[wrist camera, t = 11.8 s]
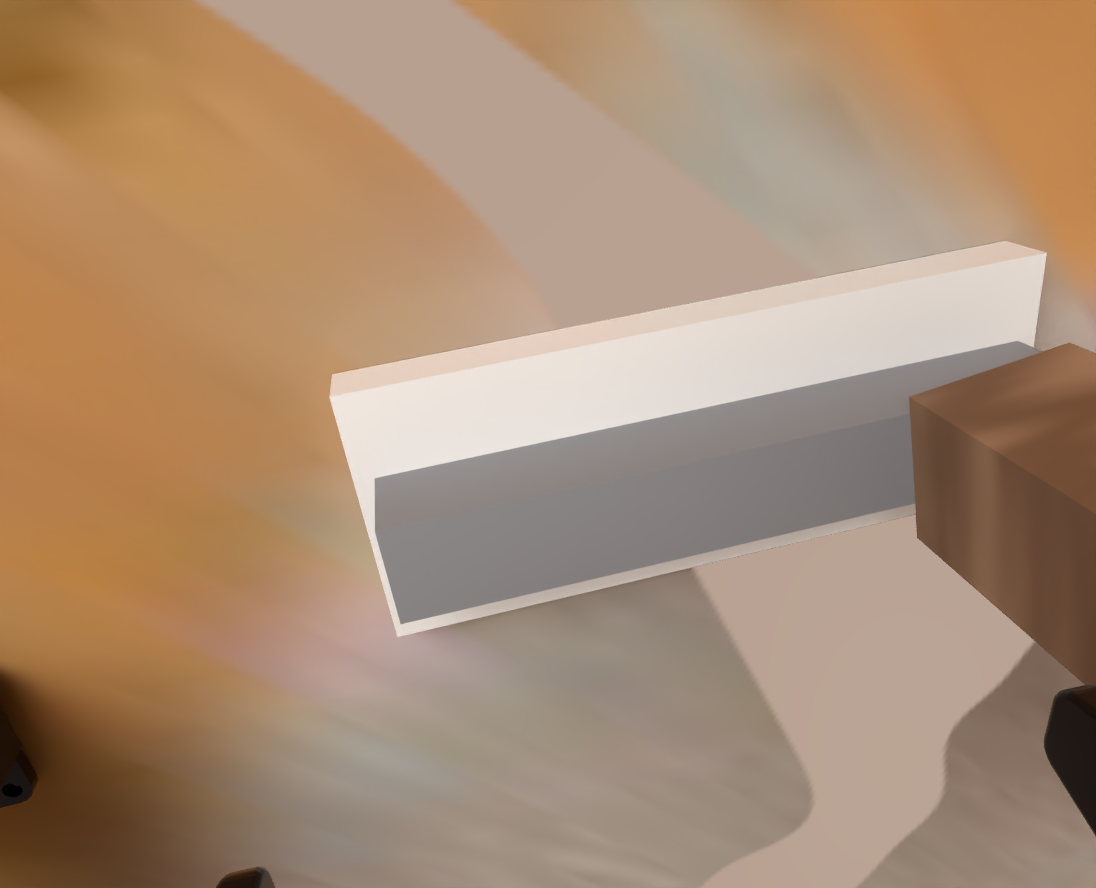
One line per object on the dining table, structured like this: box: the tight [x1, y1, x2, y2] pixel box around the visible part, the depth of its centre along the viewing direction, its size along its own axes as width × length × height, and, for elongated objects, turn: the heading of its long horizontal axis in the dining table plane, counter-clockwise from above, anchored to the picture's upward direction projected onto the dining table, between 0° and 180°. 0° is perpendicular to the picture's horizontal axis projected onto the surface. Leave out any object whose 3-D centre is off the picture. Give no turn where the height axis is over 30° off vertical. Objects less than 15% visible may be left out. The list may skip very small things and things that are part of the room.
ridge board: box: [330, 241, 1047, 637], centre depth 21 cm, size 18×7×4 cm, turn 98°
